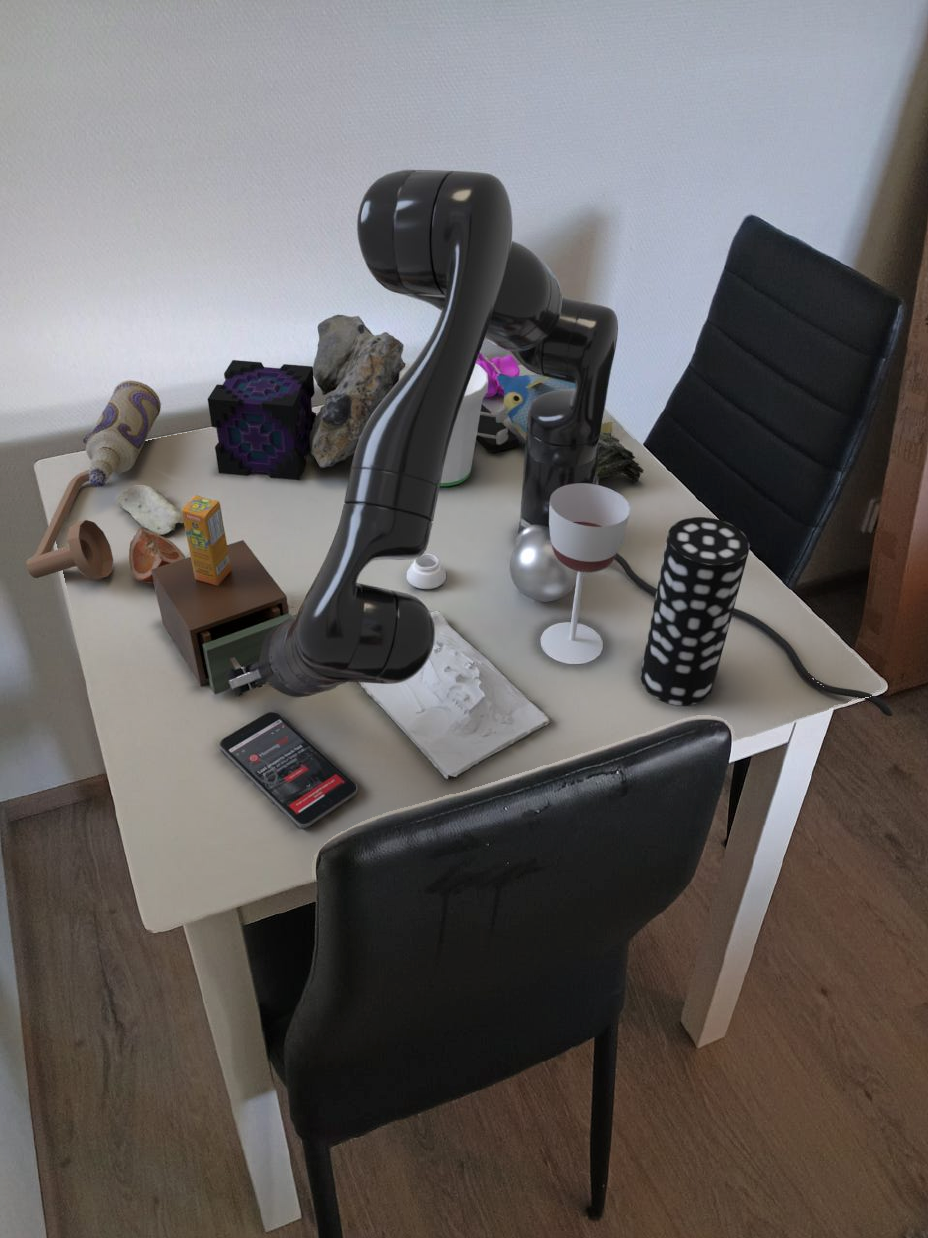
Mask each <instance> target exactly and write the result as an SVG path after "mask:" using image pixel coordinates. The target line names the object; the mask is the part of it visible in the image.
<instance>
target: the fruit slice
mask: <svg viewBox="0 0 928 1238" xmlns="http://www.w3.org/2000/svg"><path fill="white" fill-rule="evenodd" d="M128 552H129V553H128V560H129V562H128V563H129V564H128V565H129V569H130V572H131V575H132V577H133V578H134V579H136V580H137V581H140V582H143V583H146V584H154V582H153V577H152V573H151V569H154V568H157V567H160V566H163V565H167V564H170V563H173V562H176V561H179V560H182V559H185V558H186V557H185V554H184V553H183V552H182V551H181V550H180V549H179V547H178V546H177V545H176V544H175V543H174V542H172V541H171V540H170V539H168V538H167V537H165V536H164V535H163V536H162V534H160V535H158V534H157V533H154V532H152V531H150V530H149V529H147V528H145V527H142V526H140V527H138V530H137V531H136V533H135V535H133V538H132V540H131V541H130V543H129V549H128Z"/></svg>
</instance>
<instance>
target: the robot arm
mask: <svg viewBox="0 0 928 1238" xmlns="http://www.w3.org/2000/svg"><path fill="white" fill-rule="evenodd" d="M513 219H514V218H513V209H512V204H511V200H510V196H509V193H508V191H507V189H506V186H505V185H504V183H503V182H502V181H501V179H500V178H499V177H497V176H495V175H493V174H492V173H487V172H480V171H469V170H468V171H467V170H442V169H441V170H440V169H438V170H437V169H401V170H396V171H394V172H390V173H386V174H384V175H383V176H381V177H379V178H377V179H376V180H375V181H374V182H373V183H371V184H370V186H369V187H368V189H367V190H366V192H365V193H364V195H363V197H362V200H361V202H360V205H359V208H358V213H357V219H356V235H357V241H358V245H359V249H360V254H361V256H362V259H363V261H364V263H365V265H366V267H367V269H368V271H369V272H370V274H371V275H372V276H373V278H374V279H375V280H376V282H378V283H379V284H380V285H381V286H382V287H383V288H384V289H385V290H387V291H389V292H392V293H395V294H399V295H403V296H406V297H409V298H413V299H415V300H417V301H418V300H419V301H421V302H425V303H426V304H429V305H431V306H433V307H435V308H436V309H438V310H440V311H441V312H440V313H439V316H438V319H437V322H436V324H435V326H434V329H433V330H432V332H431V334H430V336H429V338H428V340H427V342H426V344H425V345H424V346H423V348H422V350H421V351H420V352H419V354H418V355H417V357H416V358H415V359H414V361H412V362H413V364H412V365H411V366H410V368H409V369H408V370H407V371H406V373H405V374H404V375H403V376H402V378H401V379H400V380H399V381H398V382H397V383H396V385H395V386H394V387H393V388H392V389H391V390H390V392H389V393H388V394H387V395H386V397H385V398H384V399H383V400H382V401H381V403H380V404H379V405H378V406H377V408H376V409H375V411H374V412H373V413H372V415H371V416H370V418H369V420H368V421H367V423H366V425H365V427H364V429H363V431H362V433H361V435H360V438H359V440H358V443H357V445H356V449H355V452H354V453H353V455H352V461H351V466H350V471H349V476H348V479H347V481H348V482H347V486H346V491H345V496H344V499H343V500H344V501H343V503H344V504H342V505H343V506H342V510H341V515H340V518H339V523H338V526H337V529H336V532H335V535H334V536H333V539H332V542H331V545H330V546H329V549H328V551H327V554H326V556H325V558H324V560H323V562H322V564H321V567H320V569H319V570H318V572H317V574H316V576H315V577H314V580H313V582H312V584H311V586H310V587H309V589H308V591H307V593H306V595H305V596H304V598H303V600H302V603H301V605H300V608H299V610H298V612H297V613H296V614H295V615H292V617H291V618H289V619H287V620H286V621H284V622H282V623H280V624H279V625H277V626H276V627H274V628H273V629H272V630H271V631H270V632H269V633H268V635H267V636H266V638H265V639H264V641H263V644H262V647H261V651H260V659H259V662H256V663H254V662H252V663H249V665H247V666H244V667H241V668H238V669H236V670H234V669H231V670H229V672H228V673H226V676H227V678H228V680H229V684H230V686H231V689H230V690H231V692H232V693H233V696H234V697H237V696H238V697H242V696H244V693H247V692H250V691H252V690H254V689H257V688H258V689H260V688H263V687H264V685H266V684H269V686H271V687H272V688H273V689H275V690H276V691H278V692H280V693H281V694H283V695H286V696H288V697H292V698H306V697H311V696H314V695H318V694H321V693H325V692H329V691H332V690H334V689H336V688H338V687H339V686H341V685H344V684H347V683H358V682H363V683H378V684H396V683H401V682H404V681H406V680H408V679H410V678H412V677H413V676H414V675H416V674H417V673H418V672H419V671H420V670H421V669H422V668H423V666H424V665H425V664H426V662H427V660H428V659H429V657H430V654H431V652H432V650H433V646H434V641H435V627H434V622H433V619H432V616H431V614H430V610H429V608H428V607H427V606H426V604H424V602H422V600H420V599H419V598H417V597H416V596H414V595H412V594H408V593H405V592H401V591H398V590H392V589H388V588H382V587H379V586H375V585H369V584H364V583H358V580H359V577H360V574H361V573H362V572H363V570H364V569H365V568H366V567H367V566H368V565H369V564H370V563H371V562H374V561H382V560H383V561H384V560H386V561H387V560H389V561H408V560H410V561H411V560H415V559H416V558H418V557H420V556H421V555H422V554H425V552H426V550H427V548H428V545H429V542H430V538H431V534H432V528H433V524H434V523H433V521H434V519H435V518H434V517H435V513H436V508H437V502H438V498H439V493H440V487H441V486H440V483H441V478H442V473H443V467H444V463H445V459H446V454H447V450H448V446H449V442H450V438H451V435H452V431H453V428H454V424H455V421H456V418H457V415H458V412H459V409H460V406H461V403H462V401H463V398H464V395H465V392H466V389H467V386H468V384H469V381H470V378H471V376H472V373H473V370H474V367H475V364H476V362H477V360H478V359H479V358H478V356H479V353H480V351H482V347H483V344H484V342H485V341H487V342H489V343H490V344H493V345H494V346H496V347H499V348H501V349H503V350H505V351H509V352H510V353H511V354H512V355H513V357H515V359H516V360H517V361H518V362H519V363H520V365H522V366H523V367H524V369H526V370H528V371H529V372H531V373H534V374H535V375H542V376H546V377H549V378H553V379H557V380H561V381H566V382H570V383H574V384H575V386H576V387H575V388H570V389H563V390H556V391H551V392H548V393H545V394H542V395H540V396H539V397H537V398H536V399H535V400H534V401H533V402H532V403H531V405H530V407H529V411H528V420H527V433H526V440H525V446H524V459H523V460H524V462H523V473H522V485H521V486H522V487H521V501H520V513H519V514H520V516H519V525H518V530H517V532H518V533H517V535H518V534H519V533H520V532H521V531H522V530H523V529H524V528H526V527H528V526H530V525H542V526H546V527H548V528H549V506H550V497H551V495H552V493H553V492H554V491H555V490H557V489H558V488H560V487H562V486H565V485H569V484H576V483H587V484H595V485H599V481H600V478H598V477H597V476H595V473H596V465H597V457H598V449H599V441H600V434H601V427H602V423H603V419H604V414H605V409H606V404H607V400H608V399H607V398H608V391H609V385H610V380H611V374H612V369H613V364H614V359H615V354H616V350H617V349H616V348H617V342H618V337H619V336H618V334H619V321H618V317H617V314H616V312H615V311H614V309H613V308H611V307H608V306H605V305H601V304H598V303H597V304H596V303H593V302H588V301H587V302H586V301H584V300H583V301H582V300H579V299H573V298H569V297H564V296H563V293H562V288H561V285H560V282H559V280H558V278H557V276H556V275H555V274H554V272H553V271H552V268H550V266H549V265H548V264H546V263H545V261H544V260H543V259H542V258H541V257H539V255H537V254H536V253H535V252H534V251H533V250H531V249H530V248H528V247H527V246H525V245H524V244H521V243H519V242H517V241H515V240H513V227H514V225H513V224H514V223H513V222H514V221H513ZM614 561H615V562H617V563H618V564H619V566H620V567H621V568H622V570H623V571H624V572H625V574H626V575H627V576H628V578H629V579H630V580H631V581H633V582H634V583H635V584H636V585H637V586H639V587H640V588H642V589H643V590H644V591H646V592H648V593H649V594H651V595H653V596H655V597H656V593H657V588H656V587H654V586H653V585H651V584H649V583H648V582H646V581H645V580H644V579H642V578H641V577H640V576H639V575H637V574H636V573H635V572H634V571H633V569H632V567H631V566H630V564H629V563H628V562H627V560H626V559H624V557H623V556H622V555H620V554H619V553H617V555H616V557H615V559H614ZM732 616H736V617H738V618H740V619H742V620H745V621H747V622H749V623H750V624H752V625H754V626H755V627H757V628H758V629H760V630H761V631H762V632H764V633H765V634H766V635H768V636H769V637H770V638H771V639H772V640H774V641H775V642H776V643H777V644H778V645H779V646H780V647H781V648H782V649H783V650H784V651H785V652H786V654H787V655H788V657H789V659H790V660H791V662H792V664H793V666H794V667H795V669H796V670H797V672H798V673H799V674H800V675H801V677H802V678H803V680H805V681H806V682H807V683H809V684H810V685H811V686H813V687H814V688H816V689H818V690H820V691H822V692H825V693H828V694H832V695H836V696H842V697H850V698H856V699H860V700H864V701H867V702H870V703H872V704H873V705H875V706H876V707H877V708H878V709H879V710H880V711H881V713H882V714H884V715H885V716H887V717H892V716H893V712H892V709H891V708H890V707H889V706H888V704H887V703H886V702H884V700H883V699H881V698H879V697H878V696H876V695H874V696H872V695H873V694H872V693H869V692H866V691H862V690H857V689H849V688H844V687H837V686H833V685H829V684H828V683H824V682H822V681H821V680H819V679H817V678H816V677H815V676H813V675H812V674H811V673H810V672H809V671H808V670H807V668H806V667H805V666H804V664H803V663H802V661H801V659H800V656H799V655H798V654H797V652H796V651H795V649H794V648H793V646H792V645H791V644H790V643H789V642H788V641H787V640H786V639H785V638H784V637H783V636H782V635H780V634H779V633H778V632H777V631H776V630H775V629H773V628H772V627H770V626H769V625H768V624H766V623H765V622H764V621H762V620H760V619H759V618H757V617H755V616H754V615H752V614H750V613H748V612H746V611H743V610H740V609H738V608H735V607H734V610H733V613H732ZM808 672H809V673H808ZM812 678H814V680H813V679H812ZM815 678H816V679H817V680H816V679H815ZM817 682H819V683H817ZM820 684H822V685H820ZM823 686H824V687H823ZM870 696H871V697H870ZM857 697H858V698H857ZM865 697H869V698H865ZM862 698H865V699H862Z"/></svg>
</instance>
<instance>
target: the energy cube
mask: <svg viewBox="0 0 928 1238" xmlns="http://www.w3.org/2000/svg"><path fill="white" fill-rule="evenodd" d="M223 377H224V382H223V383H222V384H219V383H218V384H216V385H215V387H214V388H213V389H212V391H211V393H210V394H209V395H208V397H207V404H208V405H207V406H208V411H209V419H210V424H211V427H212V428H215V429H216V434H217V440H218V442H217V443H216V444H215V446H214V451H215V457H216V458H215V459H216V462H217V463H216V464H217V470H218V471H217V472H218V473H219V474H225V475H238V476H249V475H250V473H252V472H255V473H256V472H257V473H267V474H268V476H269V478H272V479H282V480H295V481H300V480H301V478H302V475H303V473H304V471H305V468H306V466H307V459H306V456H307V453H310V439H309V437H310V432H311V430H312V428H313V423H314V420H315V417H316V416H317V413H316V412H314V411H313V404H312V398H313V397H314V396H315V394H316V391H315V378H314V375H313V365H299V364H286V363H283V364H282V365H281V367H269V366H264V364H263V363H262V361H251V360H240V359H239V360H238V359H232V360H231V362H230V363H229V365H228V366H227V368H226V369H225V370H224V373H223Z"/></svg>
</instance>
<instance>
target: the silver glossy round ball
mask: <svg viewBox="0 0 928 1238" xmlns="http://www.w3.org/2000/svg"><path fill="white" fill-rule="evenodd" d="M577 572H578V571H576V570H573V569H570V568H568V567H567V566H565V565H564V564H563V563H561V562H560V561H559V560H558V559H557V557H556V556H555V554H554V552H553V549H552V545H551V538H550V529H549V528H548V527H546V526H542V525H530V526H528V527H526V528H524V529H523V530H522V531H521V532H520V533H519V534H518V533H517V536H516V538H515V547H514V549H513V551H512V552H511V556H510V559H509V573H510V578H511V580H512V582H513V584H514V586H515V587H516V588H517V590H519V592H520V593H521V594H523V595H524V596H525V597H527V598H529V599H531V600H533V601H537V602H552V601H558V600H559V599H562V598H563V597H566V596H567V595H568V594H569V593H570V592H571V591H572V590H573V589H574V588H575V587H576V580H577Z"/></svg>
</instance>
